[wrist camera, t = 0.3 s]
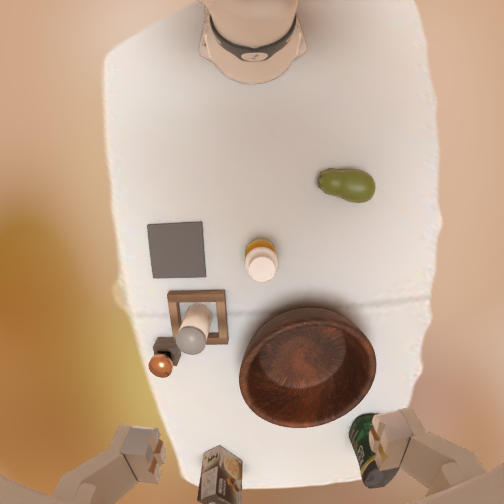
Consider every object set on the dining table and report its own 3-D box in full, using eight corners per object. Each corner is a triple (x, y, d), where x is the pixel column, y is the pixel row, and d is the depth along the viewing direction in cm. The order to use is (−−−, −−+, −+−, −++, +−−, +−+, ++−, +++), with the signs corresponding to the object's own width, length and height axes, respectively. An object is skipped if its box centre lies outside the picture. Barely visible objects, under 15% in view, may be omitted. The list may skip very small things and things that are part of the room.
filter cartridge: (185, 304, 60) (173, 328, 50) (211, 303, 60) (203, 328, 50) (188, 327, 61) (177, 354, 52) (213, 327, 61) (206, 354, 51)
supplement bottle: (240, 244, 57) (238, 260, 48) (268, 233, 56) (272, 246, 47) (252, 271, 58) (252, 291, 49) (280, 260, 58) (285, 279, 48)
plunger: (153, 344, 59) (146, 357, 54) (175, 344, 59) (169, 358, 54) (157, 362, 60) (151, 376, 55) (178, 363, 60) (173, 378, 55)
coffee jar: (354, 413, 67) (375, 469, 49) (383, 411, 68) (408, 464, 50) (344, 439, 70) (360, 493, 52) (372, 437, 70) (391, 488, 52)
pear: (375, 207, 50) (315, 196, 51) (369, 204, 55) (315, 194, 56) (380, 173, 48) (320, 162, 50) (374, 173, 53) (319, 163, 55)
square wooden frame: (150, 290, 59) (144, 299, 55) (224, 289, 59) (222, 298, 55) (161, 354, 63) (156, 365, 59) (229, 355, 63) (228, 366, 59)
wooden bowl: (341, 274, 58) (357, 295, 49) (372, 371, 64) (387, 399, 54) (219, 324, 61) (213, 352, 51) (269, 411, 67) (271, 442, 57)
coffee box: (202, 453, 71) (195, 500, 55) (219, 444, 70) (214, 493, 54) (226, 468, 73) (223, 514, 57) (244, 460, 72) (242, 508, 56)
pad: (148, 224, 56) (147, 225, 55) (202, 221, 56) (201, 222, 55) (154, 277, 59) (153, 278, 58) (206, 276, 58) (205, 277, 58)
